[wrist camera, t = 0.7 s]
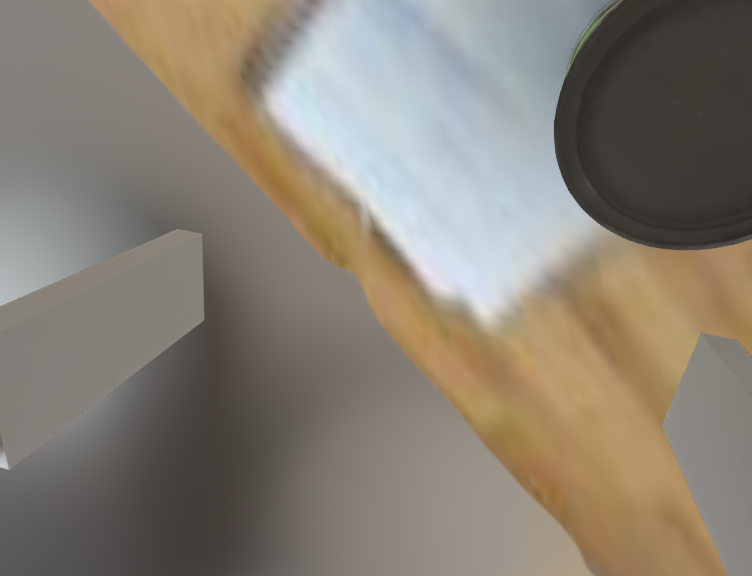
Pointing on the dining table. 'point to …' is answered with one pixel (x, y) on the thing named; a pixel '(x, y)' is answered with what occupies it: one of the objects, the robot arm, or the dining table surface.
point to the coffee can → (662, 122)
